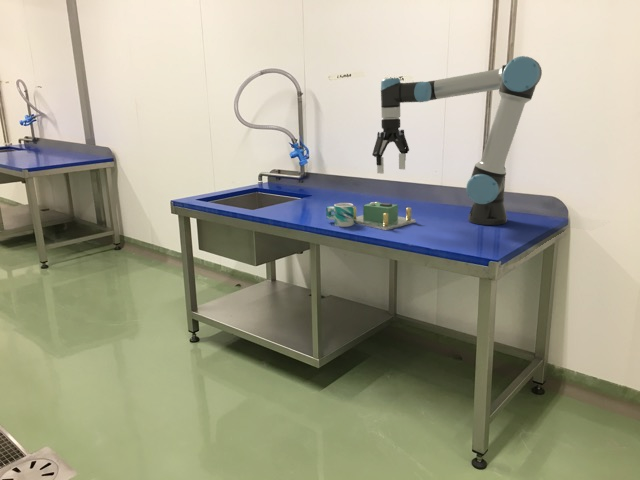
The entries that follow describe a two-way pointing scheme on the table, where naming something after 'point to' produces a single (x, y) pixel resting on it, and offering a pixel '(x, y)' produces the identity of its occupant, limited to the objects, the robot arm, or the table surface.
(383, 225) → the chassis
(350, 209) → the mug
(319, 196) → the table surface
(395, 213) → the green control box
